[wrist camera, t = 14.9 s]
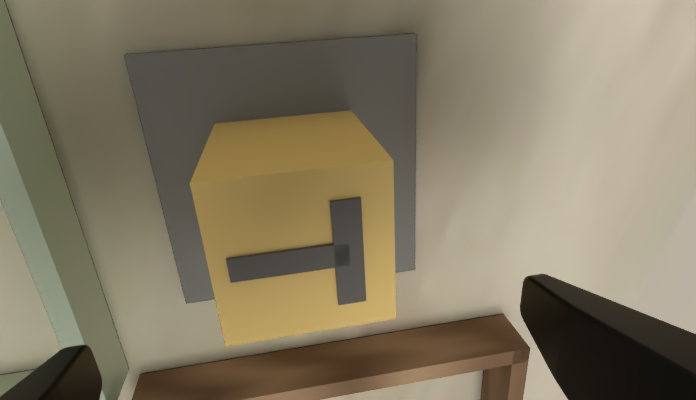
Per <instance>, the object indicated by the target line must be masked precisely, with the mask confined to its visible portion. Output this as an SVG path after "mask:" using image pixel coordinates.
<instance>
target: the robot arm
mask: <svg viewBox="0 0 696 400" xmlns="http://www.w3.org/2000/svg"><path fill="white" fill-rule="evenodd" d="M520 311H521V315H522V318H523V320H524V322H525V324H526V326H527V328H528V330H529V331H530V333H531V335H532V337H533V339H534V341H535V343H536V345H537V347H538V349H539V350H540V352H541V354H542V356H543V358H544V360H545V362H546V364H547V366H548V368H549V369H550V371H551V373H552V375H553V376H554V378H555V380H556V381H557V383H558V385H559V386H560V388H561V389H562V391H563V392H564V394H565V395H566V397H567V398H568V400H696V334H694V333H691V332H689V331H686V330H684V329H681V328H679V327H676V326H674V325H671V324H669V323H666V322H664V321H661V320H659V319H656V318H654V317H651V316H648V315H646V314H643V313H641V312H639V311H636V310H634V309H631V308H629V307H626V306H624V305H621V304H619V303H616V302H614V301H611V300H609V299H606V298H603V297H601V296H598V295H596V294H593V293H591V292H588V291H586V290H583V289H581V288H578V287H576V286H573V285H571V284H568V283H566V282H563V281H561V280H558V279H556V278H553V277H551V276H548V275H546V274H538V275H531V276H527V277H526V278H525V279H524V281H523V288H522V296H521V304H520ZM101 390H102V376H101V373H100V370H99V368H98V365H97V362H96V360H95V357H94V355H93V352H92V350H91V348H90V347H89V346H88V345H85V344H84V345H77V346H70V347H66V348H63V349H62V350H60V351H59V352H58V353H56V354H55V355H54V356H52V357H51V358H50V359H48V360H47V361H46V362H45V363H43V364H42V365H41V366H39V367H38V368H37V369H35V370H34V371H33V372H31V373H30V374H29V375H28V376H26V377H25V378H24V379H22V380H21V381H20V382H18V383H17V384H16V385H15V386H13V387H12V388H11V389H9V390H8V391H7V392H5V393H4V394H3V395H1V396H0V400H99V399H100V395H101Z"/></svg>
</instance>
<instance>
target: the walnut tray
mask: <svg viewBox="0 0 696 400" xmlns="http://www.w3.org/2000/svg"><path fill="white" fill-rule="evenodd" d="M529 352H530V347H529V346H528V345H527V344H526V342H525V341H524V340H523V338H522V337H521V336H520V335H519V333H518V332H517V331H516V329H515V328H514V327H513V326H512V324H511V323H510V322H509V321H508V319H507V318H506V317H505V315H504V314H500V315H494V316H488V317H482V318H476V319H470V320H464V321H458V322H452V323H446V324H440V325H434V326H428V327H422V328H416V329H410V330H404V331H398V332H392V333H386V334H380V335H374V336H368V337H362V338H356V339H350V340H344V341H338V342H332V343H326V344H320V345H314V346H308V347H302V348H295V349H289V350H283V351H277V352H271V353H265V354H259V355H253V356H247V357H241V358H235V359H229V360H223V361H217V362H211V363H205V364H199V365H193V366H187V367H181V368H175V369H169V370H163V371H157V372H151V373H145V374H140V377H139V380H138V383H137V386H136V389H135V392H134V395H133V398H132V400H320V399H326V398H331V397H337V396H342V395H348V394H353V393H359V392H364V391H370V390H375V389H381V388H386V387H391V386H397V385H402V384H408V383H413V382H419V381H424V380H430V379H435V378H441V377H446V376H452V375H457V374H463V373H468V372H473V371H479V370H484V372H483V384H482V395H481V400H523V394H524V387H525V380H526V373H527V366H528V359H529Z"/></svg>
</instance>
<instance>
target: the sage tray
mask: <svg viewBox="0 0 696 400" xmlns="http://www.w3.org/2000/svg"><path fill="white" fill-rule="evenodd" d="M0 199H1V202H2V204H3V207H4V209H5V212H6V214H7V216H8V219H9V221H10V224H11V226H12V229H13V231H14V234H15V236H16V238H17V241H18V243H19V246H20V248H21V251H22V253H23V256H24V258H25V260H26V263H27V265H28V268H29V270H30V273H31V275H32V278H33V280H34V282H35V285H36V287H37V290H38V292H39V295H40V297H41V300H42V302H43V304H44V307H45V309H46V312H47V314H48V317H49V319H50V321H51V324H52V326H53V329H54V331H55V334H56V336H57V339H58V341H59V343H60V346H61V348H62V349H63V348H66V347H70V346H77V345H84V344H85V345H88V346H89V347H90V348H91V350H92V352H93V355H94V357H95V360H96V362H97V365H98V368H99V370H100V373H101V376H102V390H101V395H100V399H99V400H118V397H119V394H120V392H121V389H122V386H123V384H124V381H125V378H126V375H127V373H128V370H129V368H128V365H127V362H126V359H125V356H124V353H123V350H122V347H121V344H120V341H119V338H118V336H117V333H116V330H115V327H114V324H113V321H112V318H111V315H110V312H109V309H108V306H107V303H106V300H105V297H104V294H103V291H102V288H101V285H100V282H99V279H98V276H97V273H96V270H95V268H94V265H93V262H92V259H91V256H90V253H89V250H88V247H87V244H86V241H85V238H84V235H83V232H82V229H81V226H80V223H79V220H78V217H77V214H76V211H75V208H74V205H73V202H72V200H71V197H70V194H69V191H68V188H67V185H66V182H65V179H64V176H63V173H62V170H61V167H60V164H59V161H58V158H57V155H56V152H55V149H54V146H53V143H52V140H51V137H50V134H49V132H48V129H47V126H46V123H45V120H44V117H43V114H42V111H41V108H40V105H39V102H38V99H37V96H36V93H35V90H34V87H33V84H32V81H31V78H30V75H29V72H28V69H27V66H26V64H25V61H24V58H23V55H22V52H21V49H20V46H19V43H18V40H17V37H16V34H15V31H14V28H13V25H12V22H11V19H10V16H9V13H8V10H7V7H6V4H5V1H4V0H0ZM33 371H34V370H30V371H24V372H17V373H11V374H5V375H0V396H1V395H3V394H4V393H5V392H7V391H8V390H9V389H11V388H12V387H13V386H15V385H16V384H17V383H18V382H20V381H21V380H22V379H24V378H25V377H26V376H28V375H29V374H30V373H31V372H33Z"/></svg>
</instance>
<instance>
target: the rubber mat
mask: <svg viewBox="0 0 696 400" xmlns="http://www.w3.org/2000/svg"><path fill="white" fill-rule="evenodd" d="M124 57H125V61H126V65H127V69H128V73H129V77H130V81H131V85H132V89H133V93H134V97H135V101H136V105H137V109H138V113H139V117H140V121H141V125H142V129H143V133H144V137H145V141H146V145H147V149H148V153H149V157H150V161H151V165H152V169H153V173H154V177H155V181H156V185H157V189H158V193H159V197H160V201H161V205H162V209H163V213H164V217H165V221H166V225H167V229H168V233H169V237H170V241H171V245H172V249H173V253H174V257H175V261H176V265H177V269H178V273H179V277H180V281H181V285H182V289H183V293H184V297H185V301H186V303H193V302H200V301H207V300H213V299H215V296H214V292H213V287H212V283H211V278H210V274H209V269H208V264H207V260H206V255H205V251H204V246H203V242H202V237H201V232H200V228H199V223H198V219H197V214H196V210H195V205H194V200H193V196H192V191H191V187H190V181H191V179H192V177H193V174H194V172H195V169H196V167H197V165H198V162H199V160H200V157H201V155H202V153H203V150H204V148H205V145H206V143H207V141H208V138H209V136H210V133H211V131H212V129H213V126H214V124H215V123H226V122H236V121H246V120H257V119H267V118H277V117H287V116H298V115H308V114H318V113H329V112H339V111H349V110H351V111H352V112H353V113H354V114H355V116H356V117H357V118H358V119H359V120H360V121H361V123H362V124H363V125H364V126H365V127H366V128H367V130H368V131H369V132H370V133H371V134H372V135H373V137H374V138H375V139H376V140H377V141H378V142H379V144H380V145H381V146H382V147H383V148H384V150H385V151H386V152H387V153H388V154H389V155H390V157H391V158H392V159H393V165H394V222H395V273H396V272H403V271H410V270H415V194H416V34H414V33H410V34H396V35H382V36H369V37H355V38H341V39H328V40H314V41H300V42H286V43H273V44H259V45H245V46H231V47H218V48H204V49H190V50H176V51H163V52H149V53H135V54H126V55H124Z"/></svg>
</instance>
